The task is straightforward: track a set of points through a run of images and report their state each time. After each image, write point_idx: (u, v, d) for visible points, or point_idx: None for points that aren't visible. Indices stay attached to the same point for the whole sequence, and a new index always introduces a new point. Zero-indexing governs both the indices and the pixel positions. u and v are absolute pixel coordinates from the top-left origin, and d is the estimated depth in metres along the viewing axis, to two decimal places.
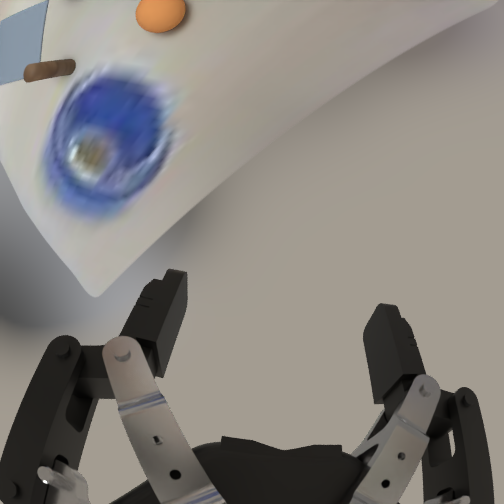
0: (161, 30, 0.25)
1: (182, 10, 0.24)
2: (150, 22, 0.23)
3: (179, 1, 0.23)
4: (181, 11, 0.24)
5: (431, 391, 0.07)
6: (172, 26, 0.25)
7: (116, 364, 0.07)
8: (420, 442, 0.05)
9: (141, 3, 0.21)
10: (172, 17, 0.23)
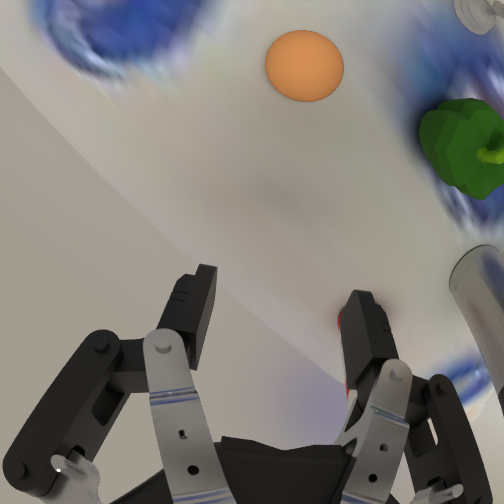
0: (266, 68, 0.19)
1: (297, 100, 0.20)
2: (279, 59, 0.17)
3: (313, 100, 0.19)
4: (294, 99, 0.20)
5: (402, 375, 0.08)
6: (271, 83, 0.20)
7: (159, 356, 0.07)
8: (400, 430, 0.06)
9: (322, 47, 0.16)
10: (283, 90, 0.19)
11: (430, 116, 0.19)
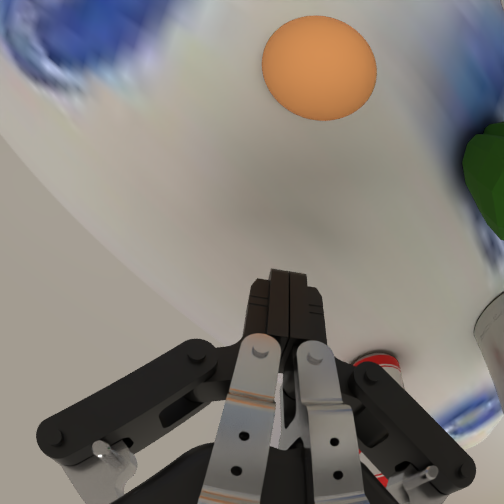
0: (263, 71, 0.13)
1: (309, 118, 0.14)
2: (282, 56, 0.11)
3: (332, 118, 0.13)
4: (305, 117, 0.14)
5: (322, 356, 0.08)
6: (271, 93, 0.14)
7: (260, 362, 0.08)
8: (344, 417, 0.06)
9: (347, 39, 0.10)
10: (289, 104, 0.13)
11: (483, 144, 0.13)
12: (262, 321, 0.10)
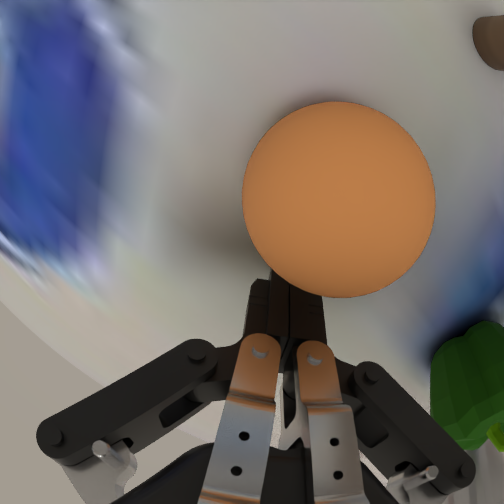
0: (255, 154, 0.08)
1: (382, 180, 0.06)
2: None
3: (418, 166, 0.06)
4: (376, 171, 0.06)
5: (322, 356, 0.08)
6: (278, 168, 0.07)
7: (260, 362, 0.08)
8: (344, 417, 0.06)
9: None
10: (332, 123, 0.06)
11: (452, 375, 0.13)
12: (262, 321, 0.10)
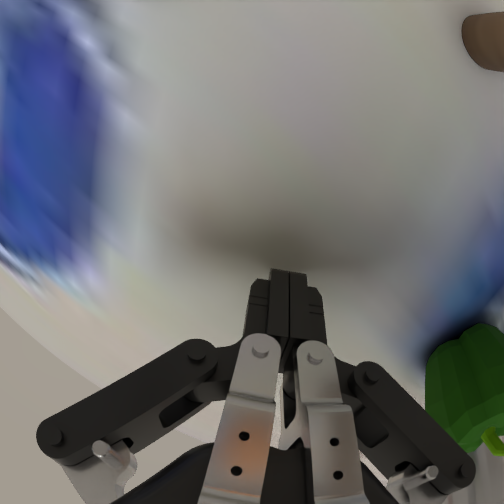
0: None
1: None
2: None
3: None
4: None
5: (322, 356, 0.08)
6: None
7: (260, 362, 0.08)
8: (344, 417, 0.06)
9: None
10: None
11: (445, 380, 0.13)
12: (262, 321, 0.10)
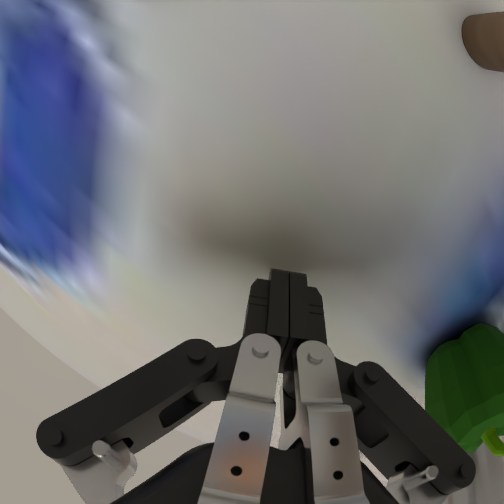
0: None
1: None
2: None
3: None
4: None
5: (322, 356, 0.08)
6: None
7: (260, 362, 0.08)
8: (344, 417, 0.06)
9: None
10: None
11: (445, 380, 0.13)
12: (262, 321, 0.10)
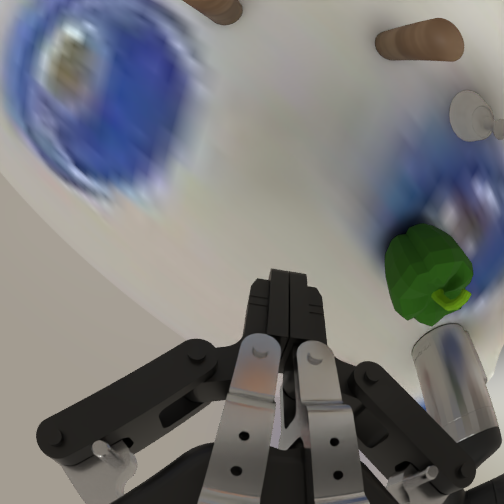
0: None
1: None
2: None
3: None
4: None
5: (322, 356, 0.08)
6: None
7: (260, 362, 0.08)
8: (344, 417, 0.06)
9: None
10: None
11: (395, 252, 0.24)
12: (262, 321, 0.10)
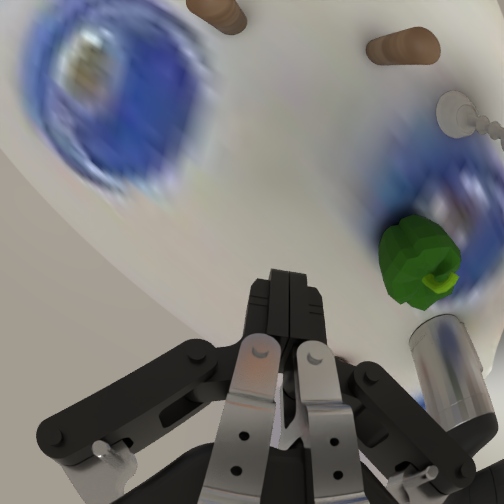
0: None
1: None
2: None
3: None
4: None
5: (322, 356, 0.08)
6: None
7: (260, 362, 0.08)
8: (344, 417, 0.06)
9: None
10: None
11: (387, 240, 0.26)
12: (262, 321, 0.10)
